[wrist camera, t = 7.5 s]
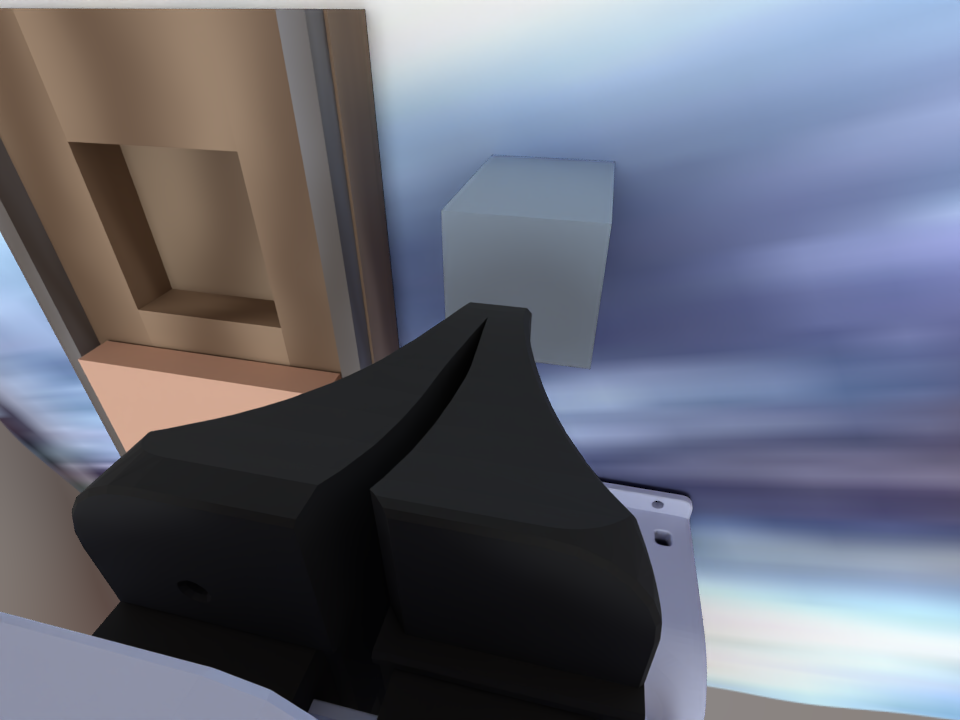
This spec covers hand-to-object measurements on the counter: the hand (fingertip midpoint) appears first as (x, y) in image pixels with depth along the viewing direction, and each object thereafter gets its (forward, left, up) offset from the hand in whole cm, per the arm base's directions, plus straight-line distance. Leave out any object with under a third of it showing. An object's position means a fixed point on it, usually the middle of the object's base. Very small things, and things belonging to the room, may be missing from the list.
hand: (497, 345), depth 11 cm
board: (+13, +4, -8) cm, 16 cm away
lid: (+13, +10, -6) cm, 18 cm away
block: (0, 0, -8) cm, 9 cm away
